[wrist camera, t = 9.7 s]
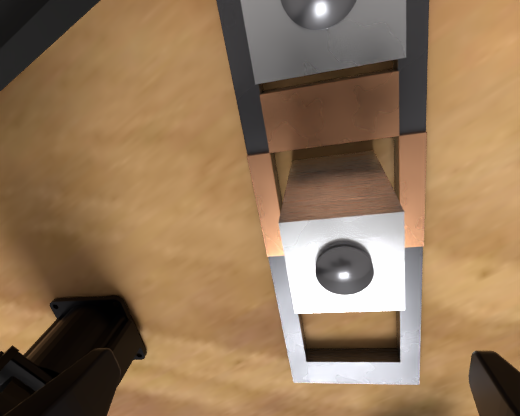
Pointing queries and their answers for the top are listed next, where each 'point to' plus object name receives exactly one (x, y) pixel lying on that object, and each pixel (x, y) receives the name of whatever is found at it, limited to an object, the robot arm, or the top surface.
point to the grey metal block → (321, 35)
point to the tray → (33, 30)
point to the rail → (330, 133)
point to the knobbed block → (343, 235)
